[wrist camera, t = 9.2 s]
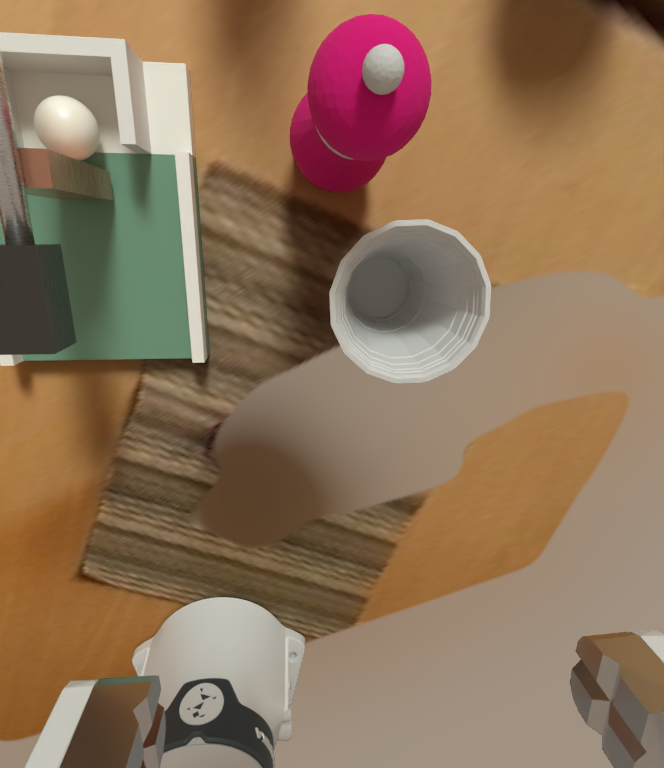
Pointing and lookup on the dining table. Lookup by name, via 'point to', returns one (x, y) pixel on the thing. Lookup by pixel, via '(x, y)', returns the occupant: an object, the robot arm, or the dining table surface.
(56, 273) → the kicker rod
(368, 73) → the pepper mill
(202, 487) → the dining table surface
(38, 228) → the pitch
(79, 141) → the ball
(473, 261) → the plastic cup
